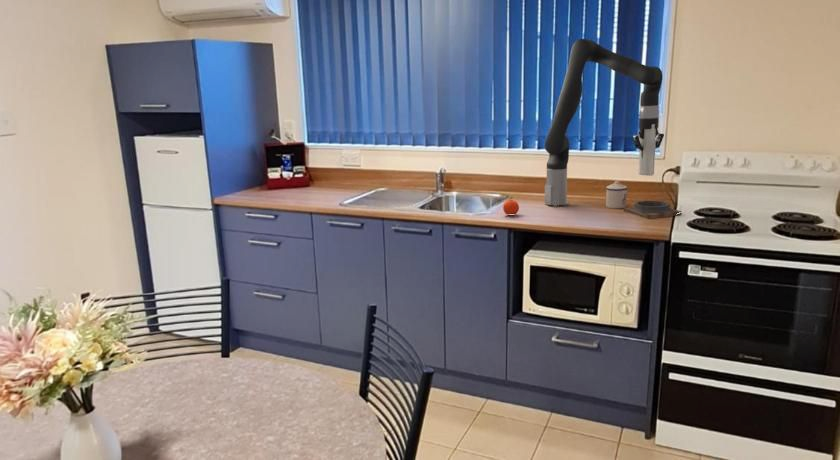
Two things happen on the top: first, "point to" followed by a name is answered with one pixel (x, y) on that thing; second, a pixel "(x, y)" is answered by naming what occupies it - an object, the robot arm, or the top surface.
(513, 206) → the tomato
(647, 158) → the tall grey block
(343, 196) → the top surface
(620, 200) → the teacup with lid
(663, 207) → the holder base
